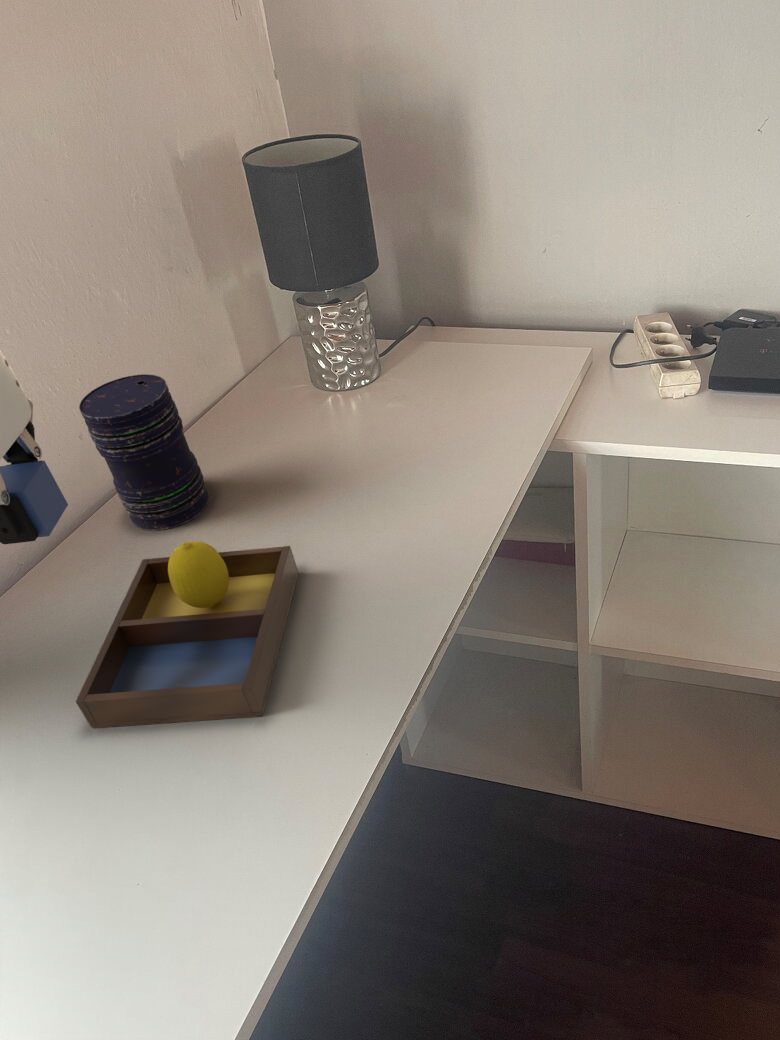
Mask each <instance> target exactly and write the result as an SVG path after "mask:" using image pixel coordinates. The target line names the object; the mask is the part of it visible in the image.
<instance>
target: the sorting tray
mask: <svg viewBox="0 0 780 1040" xmlns="http://www.w3.org/2000/svg"><path fill="white" fill-rule="evenodd" d="M217 552H218V551H217ZM218 553H219V555H220V556H221V558H222V559H223V561H224V562H225V564H226V567H227V570H228V575H229V586H228V590H227V592H226V594H225V596H224V597H223V599H222V600H221V601H220V602H218V603H217V604H215V605H214V606H213V607H207V608H196V607H192V606H190V605H188V604H186V603H184V602H183V601H182V600H181V599H180V598H179V597H178V596H177V595H176V593H175V592H174V590H173V588H172V585H171V582H170V579H169V575H168V563H169V558H170V557H171V556H166V557H153V558H144V559H141V561H140V563H139V566H138V569H137V570H136V573H135V575H134V577H133V579H132V581H131V583H130V586H129V588H128V589H127V591H126V594H125V596H124V598H123V600H122V602H121V604H120V606H119V608H118V611H117V613H116V615H115V617H114V619H113V621H112V624H111V625H110V627H109V629H108V632H107V634H106V636H105V639H104V641H103V643H102V644H101V647H100V649H99V650H98V653H97V655H96V657H95V660H94V662H93V664H92V666H91V668H90V671H89V672H88V674H87V677H86V678H85V681H84V683H83V685H82V686H81V690H80V692H79V693H78V696H77V698H76V700H75V704H76V706H77V707H78V708H79V710H80V711H81V713H82V715H83V716H84V718H85V719H86V722H88V724H89V726H90V728H92V729H102V728H113V727H114V728H115V727H128V726H129V727H130V726H142V725H156V724H157V725H158V724H171V723H184V722H185V723H186V722H187V723H188V722H199V721H215V720H226V719H227V720H228V719H242V718H255V717H257V718H258V717H263V716H264V712H265V709H266V704H267V700H268V697H269V692H270V689H271V685H272V681H273V677H274V671H275V668H276V665H277V661H278V656H279V653H280V649H281V645H282V640H283V638H284V632H285V628H286V625H287V620H288V617H289V612H290V608H291V605H292V600H293V597H294V593H295V589H296V584H297V581H298V576H299V573H300V571H299V569H298V566H297V563H296V559H295V557H294V554H293V551H292V547H291V546H290V545H284V546H273V547H262V548H252V549H240V550H233V551H232V550H231V551H229V550H228V551H220V552H218Z"/></svg>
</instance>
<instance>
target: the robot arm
mask: <svg viewBox="0 0 780 1040" xmlns="http://www.w3.org/2000/svg"><path fill="white" fill-rule="evenodd" d="M33 411H34V404H33V401H32V400H31V399H30V397H27V395H26V392H25V390H24V389H23V386H22V385H21V383H20V381H19V379H18V377H17V376H16V374H15V371H14V370H13V368H12V366H11V364H10V363H9V362H8V360H7V358H6V356H5V354H4V353H3V351H2V350H1V349H0V461H1V460H2V459H3V460H4V461H5V463H8V465H13V464H21V463H29V462H37V461H39V460H40V461H43V460H42V459H41V458H42V456H43V451H42V448H41V446H39V444H38V442H37V441H36V435H35V433H36V432H35V429H36V428H35V427H34V424H33V414H34V413H33ZM37 537H38V532H37V531H36V529H35V527H34V525H33V524H32V522H31V520H30V519H29V517H28V515H27V513H26V512H25V510H24V508H23V506H22V505H21V503H20V501H19V500H18V498H17V497H11V498H10V495H9V492H8V490H7V487H6V485H5V482H4V480H3V477H2V475H1V472H0V544H2V545H12V544H21V543H29V542H35V541H36V540H37V539H38V538H39V537H38V538H37Z"/></svg>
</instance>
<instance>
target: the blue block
mask: <svg viewBox="0 0 780 1040" xmlns="http://www.w3.org/2000/svg"><path fill="white" fill-rule="evenodd" d="M0 472H1V475H2V477H3V480H4V482H5V485H6V487H7V490H8V492H9V495H10V498H11V497H17V498H18V500H19V501H20V503H21V505H22V506H23V508H24V510H25V512H26V513H27V515H28V517H29V519H30V520H31V522H32V524H33V525H34V527H35V529H36V531H37V532H38V537H37V539H38V538H45V537H50V536H51V534H52V532H53V530H54V528H56V526H57V524H58V522H59V521H60V519H61V518H62V516H63V515H64V513H65V511H66V509H67V508H68V506H69V503H68V501H67V500H66V498H65V496H64V494H63V492H62V491H61V489H60V486H59V485H58V482H57V481H56V479H55V478H54V475H53V473H52V472H51V470H50V468H49V466H48V464H47V462H46V461H45V460H42V461H41V460H38V461H37V462H29V463H21V464H13V465H9V464H6V465H0Z"/></svg>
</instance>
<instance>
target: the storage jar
mask: <svg viewBox="0 0 780 1040" xmlns="http://www.w3.org/2000/svg"><path fill="white" fill-rule="evenodd" d="M78 405H79V406H78V408H79V409H78V410H79V412H80V415H81V417H82V418H83V419H84V423H85V425H86V427H87V430H88V434H89V436H90V438H91V440H92V442H93V443H94V444H95V449H96V451H97V452H98V453H99V455H100V457H102V458H103V459H104V460H105V462H106V464H107V467H108V469H109V471H110V473H111V475H112V478H113V480H112V481H113V482H112V483H113V486H114V488H115V489H114V490H115V491H116V493H117V495H118V497H119V500H120V502H121V504H122V506H123V507H124V508H125V510H126V512H127V513H128V516H129V519H130V521H131V523H132V524H133V525H134V526H135V528H138V529H141V530H144V531H152V532H153V531H155V532H156V531H165V530H168V529H169V530H170V529H173V528H176V527H178V526H182V525H183V524H186V523H188V522H190V521H192V520H194V518H196V517H197V516H199V515H200V514H201V513H203V511H204V510H205V509H206V508H207V506H208V504H209V503H210V493H209V490H208V488H207V487H206V483H205V480H204V475H203V472H202V469H201V466H200V465H199V464H198V459H197V458H196V455H195V454H194V452H193V451H191V449H190V446H189V443H188V441H187V439H186V436H185V433H184V431H183V430H184V425H183V420H182V417H181V416H180V414H179V410H178V407H177V405H176V401H174V399H173V397H172V394H171V392H170V390H169V386H168V384H167V381H166V379H164V378H163V377H161V376H159V375H155V374H149V373H147V374H144V373H143V374H141V373H140V374H134V375H128V376H127V375H126V376H123V377H120V378H116V379H113V380H110V381H107V382H106V383H103V384H101V385H99V386H97V387H95V388H94V389H92V390H91V391H89V392H88V393H87V394H86V395H85V396H84V397H83V398H82V399H81V401H80V403H79V404H78Z"/></svg>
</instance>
